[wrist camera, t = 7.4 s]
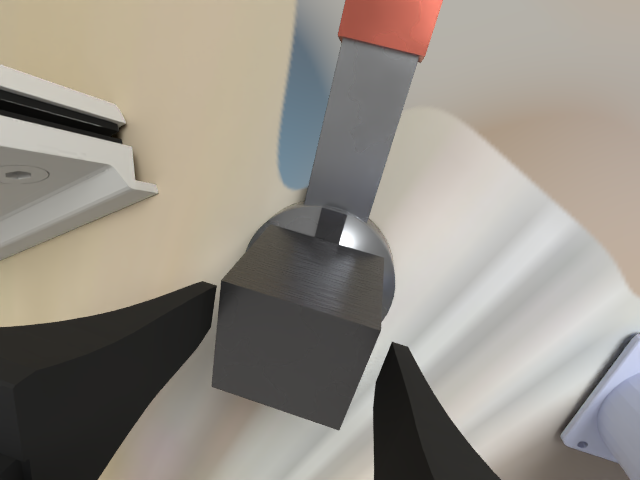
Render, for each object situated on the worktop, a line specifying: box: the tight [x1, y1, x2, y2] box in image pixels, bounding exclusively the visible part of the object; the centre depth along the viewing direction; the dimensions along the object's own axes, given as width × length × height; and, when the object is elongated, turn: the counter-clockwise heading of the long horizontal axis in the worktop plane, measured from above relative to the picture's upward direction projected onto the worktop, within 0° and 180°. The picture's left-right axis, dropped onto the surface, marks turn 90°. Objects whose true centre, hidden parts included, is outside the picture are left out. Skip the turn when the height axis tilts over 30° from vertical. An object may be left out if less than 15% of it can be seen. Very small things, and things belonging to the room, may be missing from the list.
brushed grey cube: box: [212, 224, 384, 430], centre depth 14 cm, size 6×6×5 cm
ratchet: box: [246, 0, 443, 322], centre depth 13 cm, size 8×25×5 cm, turn 166°
